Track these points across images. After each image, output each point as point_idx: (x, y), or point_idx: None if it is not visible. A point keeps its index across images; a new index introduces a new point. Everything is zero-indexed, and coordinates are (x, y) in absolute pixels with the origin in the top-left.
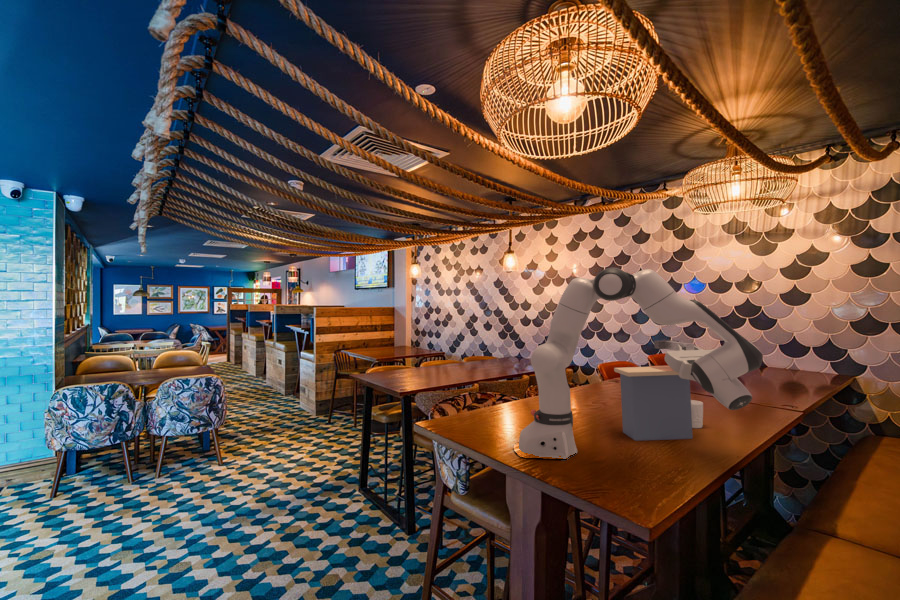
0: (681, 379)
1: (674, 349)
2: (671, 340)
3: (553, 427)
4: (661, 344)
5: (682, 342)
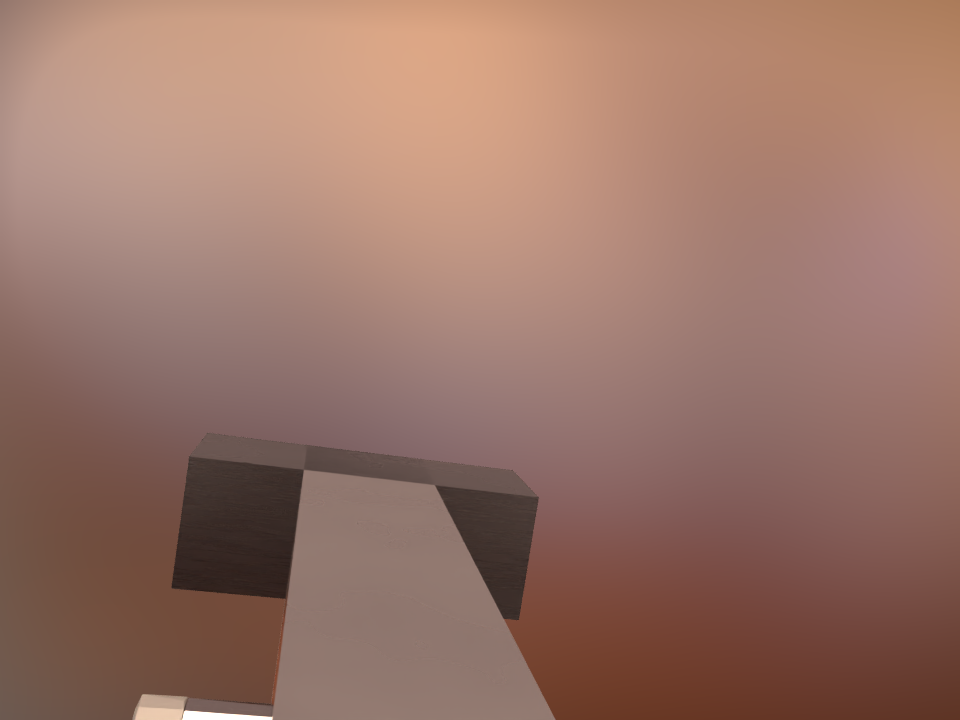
0: None
1: None
2: (467, 467)
3: None
4: (232, 515)
5: (467, 582)
